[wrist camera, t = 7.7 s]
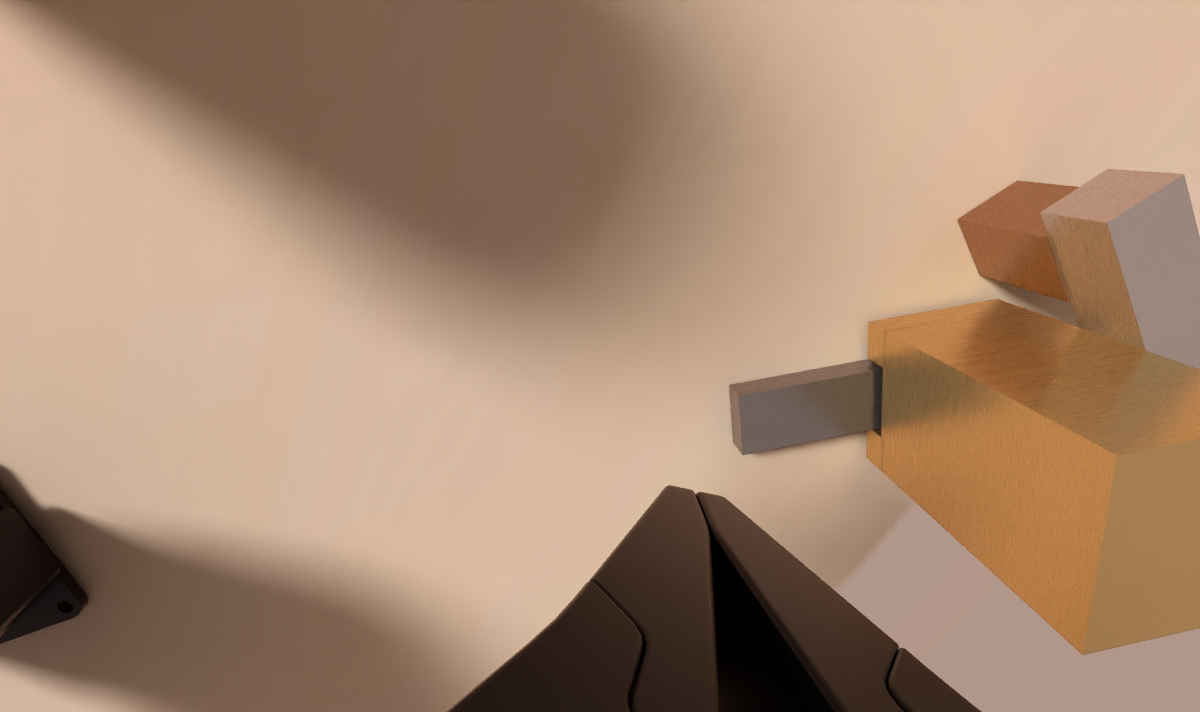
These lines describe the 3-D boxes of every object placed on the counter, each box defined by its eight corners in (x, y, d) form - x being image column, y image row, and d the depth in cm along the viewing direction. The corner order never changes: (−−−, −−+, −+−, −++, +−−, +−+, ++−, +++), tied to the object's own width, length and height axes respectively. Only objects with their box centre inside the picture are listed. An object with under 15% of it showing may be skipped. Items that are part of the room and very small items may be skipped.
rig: (733, 442, 24) (803, 539, 18) (716, 209, 21) (794, 239, 15) (1057, 380, 25) (1217, 453, 19) (1086, 149, 22) (1287, 156, 16)
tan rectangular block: (866, 457, 25) (1082, 655, 15) (868, 322, 23) (1117, 455, 13) (985, 433, 25) (1266, 612, 16) (997, 298, 23) (1326, 412, 14)
